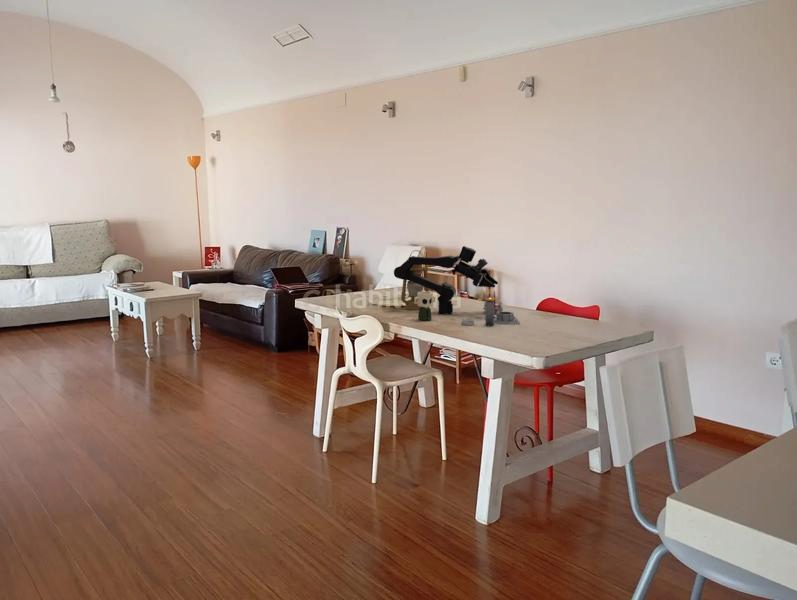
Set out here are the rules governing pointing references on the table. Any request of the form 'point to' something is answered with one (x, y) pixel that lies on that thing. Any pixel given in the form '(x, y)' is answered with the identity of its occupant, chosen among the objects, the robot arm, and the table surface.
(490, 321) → the copper-capped metal post
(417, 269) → the lantern
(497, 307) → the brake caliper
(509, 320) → the silver bolted socket base
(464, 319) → the loose bracket
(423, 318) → the big-eyed figurine
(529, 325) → the table surface
